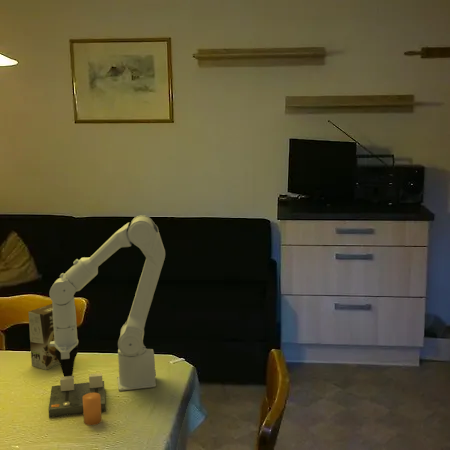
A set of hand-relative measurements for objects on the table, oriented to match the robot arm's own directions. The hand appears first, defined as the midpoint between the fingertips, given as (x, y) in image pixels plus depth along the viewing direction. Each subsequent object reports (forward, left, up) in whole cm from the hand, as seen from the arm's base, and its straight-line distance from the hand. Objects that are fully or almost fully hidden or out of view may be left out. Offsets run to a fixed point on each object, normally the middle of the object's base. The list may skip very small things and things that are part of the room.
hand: (68, 375), depth 158 cm
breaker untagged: (-7, +6, -1) cm, 9 cm away
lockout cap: (-6, +20, -3) cm, 21 cm away
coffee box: (+5, -18, -3) cm, 19 cm away
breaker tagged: (0, +6, -1) cm, 6 cm away
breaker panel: (-3, +10, -3) cm, 10 cm away
